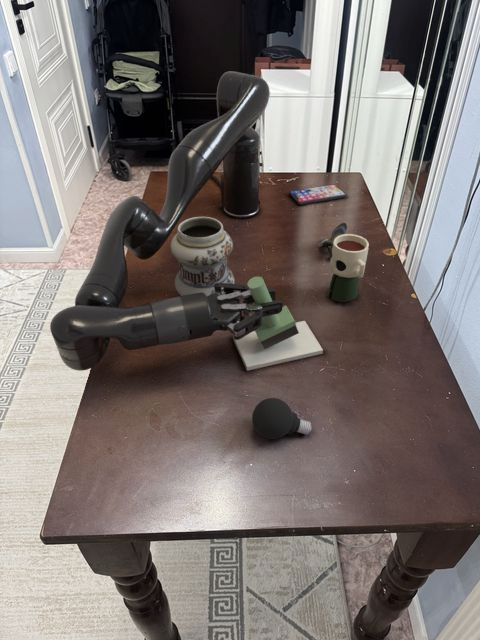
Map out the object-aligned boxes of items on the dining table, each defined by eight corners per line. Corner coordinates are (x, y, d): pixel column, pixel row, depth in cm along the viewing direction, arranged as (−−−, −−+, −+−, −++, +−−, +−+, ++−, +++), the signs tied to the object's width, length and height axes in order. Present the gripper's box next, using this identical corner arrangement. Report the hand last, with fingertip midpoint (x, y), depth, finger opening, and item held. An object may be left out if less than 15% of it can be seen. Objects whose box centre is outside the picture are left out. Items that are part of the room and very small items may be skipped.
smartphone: (347, 194, 139) (299, 202, 135) (346, 198, 140) (299, 206, 136) (335, 183, 144) (288, 190, 140) (334, 186, 145) (288, 193, 141)
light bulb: (323, 427, 75) (262, 410, 72) (306, 457, 78) (247, 441, 75) (316, 401, 80) (259, 385, 78) (300, 430, 83) (245, 415, 81)
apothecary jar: (199, 280, 109) (193, 205, 97) (246, 298, 105) (245, 221, 93) (165, 309, 102) (154, 231, 89) (213, 329, 97) (209, 250, 85)
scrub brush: (264, 350, 91) (239, 299, 81) (256, 334, 94) (232, 283, 84) (299, 333, 91) (279, 280, 81) (291, 317, 94) (270, 265, 84)
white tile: (246, 370, 89) (246, 367, 89) (232, 339, 96) (232, 335, 95) (322, 353, 93) (323, 349, 92) (304, 324, 99) (304, 320, 99)
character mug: (316, 285, 109) (322, 233, 100) (343, 278, 111) (352, 226, 102) (340, 314, 102) (349, 260, 93) (370, 306, 104) (381, 253, 95)
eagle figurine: (354, 258, 115) (353, 232, 121) (341, 237, 111) (340, 211, 116) (324, 269, 119) (325, 243, 124) (310, 249, 114) (311, 224, 120)
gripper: (174, 311, 90) (264, 294, 94) (192, 363, 80) (291, 341, 84) (170, 277, 84) (265, 260, 89) (188, 328, 75) (294, 307, 79)
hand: (277, 300), depth 87 cm, fingers closed on scrub brush, 3 cm apart
